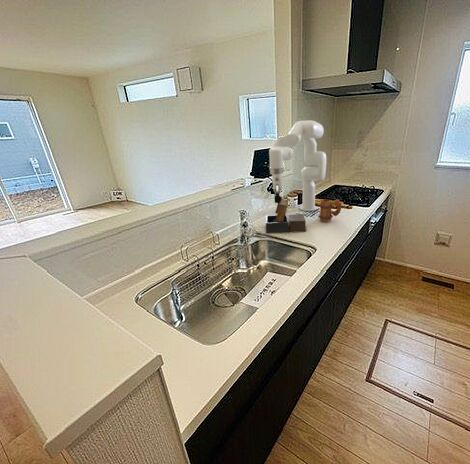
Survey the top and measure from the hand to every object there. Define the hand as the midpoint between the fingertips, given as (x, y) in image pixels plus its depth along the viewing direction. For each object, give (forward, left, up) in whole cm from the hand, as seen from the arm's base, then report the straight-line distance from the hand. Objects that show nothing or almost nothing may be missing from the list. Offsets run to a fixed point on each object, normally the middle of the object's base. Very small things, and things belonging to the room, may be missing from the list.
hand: (277, 200), depth 151 cm
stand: (0, +12, -18) cm, 22 cm away
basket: (0, -1, -18) cm, 18 cm away
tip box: (0, +5, -5) cm, 7 cm away
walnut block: (-3, -1, -13) cm, 14 cm away
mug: (-10, +34, -18) cm, 40 cm away
